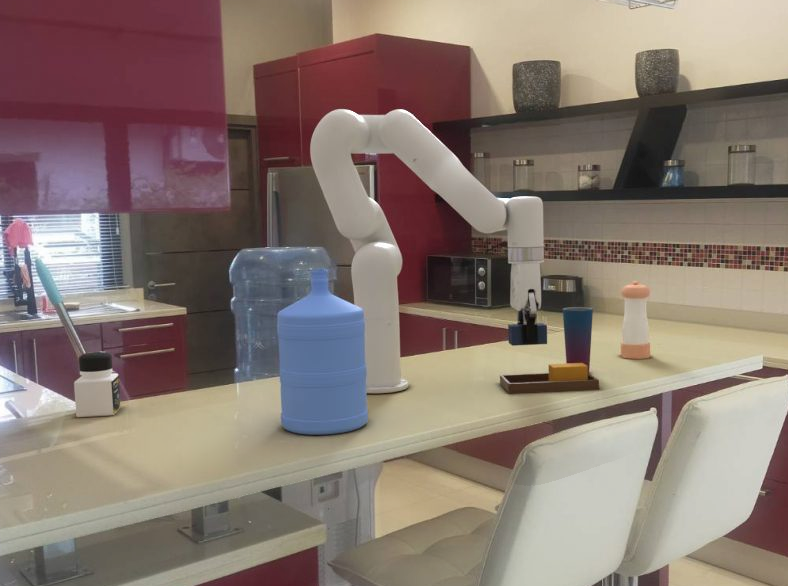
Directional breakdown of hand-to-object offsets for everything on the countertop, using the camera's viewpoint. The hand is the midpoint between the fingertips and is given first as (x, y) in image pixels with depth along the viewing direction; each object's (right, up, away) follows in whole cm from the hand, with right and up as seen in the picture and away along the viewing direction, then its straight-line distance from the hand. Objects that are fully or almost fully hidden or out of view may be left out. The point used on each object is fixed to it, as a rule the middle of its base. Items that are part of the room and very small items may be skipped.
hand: (527, 341), depth 183 cm
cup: (+14, -8, +15) cm, 22 cm away
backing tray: (+5, -10, +2) cm, 11 cm away
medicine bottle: (-86, -14, -12) cm, 88 cm away
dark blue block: (0, -1, 0) cm, 0 cm away
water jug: (-40, -15, -27) cm, 50 cm away
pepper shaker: (+32, -5, +36) cm, 48 cm away
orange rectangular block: (+9, -9, +2) cm, 13 cm away
